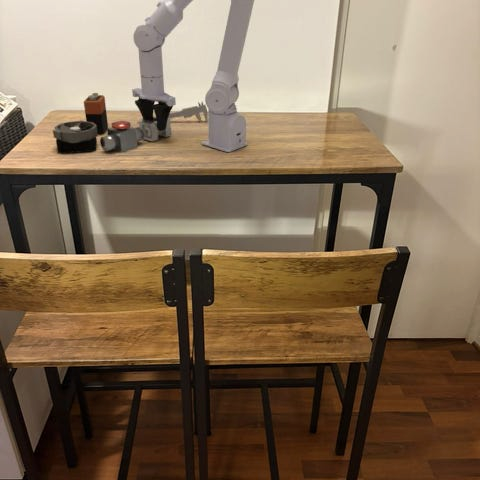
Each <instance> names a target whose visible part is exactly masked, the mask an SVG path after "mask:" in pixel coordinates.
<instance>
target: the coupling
mask: <svg viewBox="0 0 480 480" xmlns="http://www.w3.org/2000/svg"><path fill="white" fill-rule="evenodd" d="M154 116H155V115H154ZM138 121H139V120H138ZM171 125H172V123H171V118H168V120H167V125H166V130H162V131H159V130H158V127H157V119H156V116H155V117H153V121H148V120H142V121H139V123H138V127H140V128H141V129H142V130H143V133H144V139H143V140H145V141H150V142H155V141H157V140H159V136H162V137H164V138H165V137H166V138H167V137H170V136H172V126H171Z"/></svg>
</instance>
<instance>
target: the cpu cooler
mask: <svg viewBox="0 0 480 480" xmlns="http://www.w3.org/2000/svg"><path fill="white" fill-rule="evenodd" d="M52 134H53V138H55V144H56V149H57V154H63V155H64V154H65V155H66V154H79V153H80V154H84V153H91V152H96V151H97V143H98V140H97V138H98V135H99V134H97V125H96V124H94V123H93V122H87V121H86V120H76V121H67V122H61V123H59V124H57V125H56V126H54V129H53V130H52Z"/></svg>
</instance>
